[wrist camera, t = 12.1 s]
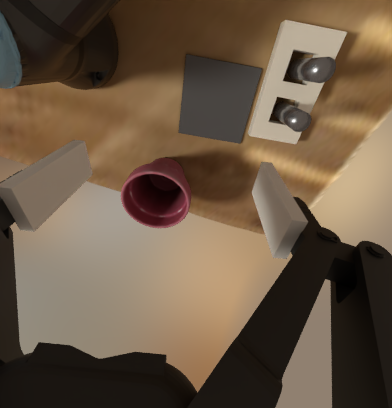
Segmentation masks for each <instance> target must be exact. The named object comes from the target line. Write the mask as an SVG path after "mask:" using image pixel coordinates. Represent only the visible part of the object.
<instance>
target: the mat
mask: <svg viewBox="0 0 392 408" xmlns="http://www.w3.org/2000/svg"><path fill="white" fill-rule="evenodd" d="M261 70H262V69H261V68H256V67H251V66H246V65H240V64H235V63H230V62H224V61H219V60H214V59H209V58H203V57H198V56H193V55H188V54H186V63H185V73H184V83H183V93H182V103H181V114H180V124H179V133H182V134H188V135H194V136H200V137H205V138H211V139H217V140H222V141H228V142H234V143H241V140H242V136H243V133H244V130H245V126H246V123H247V119H248V116H249V112H250V109H251V105H252V102H253V98H254V95H255V91H256V88H257V84H258V81H259V77H260V74H261Z"/></svg>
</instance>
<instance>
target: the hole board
mask: <svg viewBox="0 0 392 408" xmlns="http://www.w3.org/2000/svg"><path fill="white" fill-rule="evenodd" d="M346 34H347V32H344V31H339V30H334V29H329V28H324V27H319V26H314V25H309V24H304V23H299V22H294V21H289V20H284V21H283V22H281V24H280V27H279V31H278V34H277V37H276V41H275V44H274V47H273V51H272V54H271V57H270V61H269V64H268V67H267V71H266V74H265V77H264V81H263V84H262V87H261V91H260V94H259V97H258V101H257V104H256V107H255V111H254V114H253V117H252V121H251V124H250V127H249V131H248V134H249V136H253V137H258V138H264V139H270V140H275V141H281V142H287V143H292V144H297V141H298V139H299V137H300V135H301V133H302V132H295V131H293V130H292V129H291V128H290V127H288V126H287V125H286V124H284V123H283V122H278V121H273V120H269V119H270V116H271V113H272V110H273V107H274V104H275V101H276V98H277V97H281V98H287V99H292V100H295V102H294V105H293V106H294V107H296V108H299V109H301V110H303V111H305V112H307V113H309V114H310V113H311V111H312V109H313V106H314V104H315V102H316V100H317V98H318V95H319V93H320V91H321V89H322V87H323V84H324V82H323V83H315V82H309V81H303V82H302V85H301V84H296V83H291V82H285V81H283V78H284V76H285V73H286V70H287V67H288V64H289V61H290V58H291V55H292V53H293V51H295V52H300V53H305V54H310V55H313V57H312V58H318V57H331V58H333V59H334V60H335V58H336V56H337V54H338V52H339V49H340V47H341V45H342V43H343V41H344V38H345V36H346Z"/></svg>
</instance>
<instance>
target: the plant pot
mask: <svg viewBox="0 0 392 408" xmlns="http://www.w3.org/2000/svg"><path fill="white" fill-rule="evenodd" d="M166 177H167V178H166ZM121 200H122V204H123V207H124V208H125V210H126V212H127V213H128V214H129V215H130V216H131V217H132V218H133V219H134V220H136V221H137V222H139V223H141V224H143V225H146V226H149V227H153V228H167V227H171V226H174V225H176V224H178V223H179V222H181V221H182V220H183V219H184V218H185V217H186V215H187V213H188V211H189V207H190V203H191V189H190V186H189V184H188V182H187V180H186V179H185V175H184V171H183V169H182V167H181V166H180V165H179V164H178V163H177V162H176V161H174V160H172V159H170V158H159V159H156V160H155V161H153V162H152V163H150V164H145V165H143V166H140V167H138V168H137V169H135V170H134V171H133V172H132V173H131V174H130V176H129V177H128V179H127V180H126V182H125V183H124V185H123V187H122V191H121Z"/></svg>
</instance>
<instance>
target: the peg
mask: <svg viewBox="0 0 392 408" xmlns="http://www.w3.org/2000/svg"><path fill="white" fill-rule="evenodd" d="M335 68H336V63H335V60H334V59H333V58H331V57H318V58H304V59H295V60H293V61H292V62H291V63H290V64H289V66H288V68H287V75H288V77H289V78H291V79H297V80H303V81H309V82H315V83H323V82H326V81H327V80H329V79H330V78H331V77H332V75H333V74H334V72H335Z"/></svg>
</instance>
